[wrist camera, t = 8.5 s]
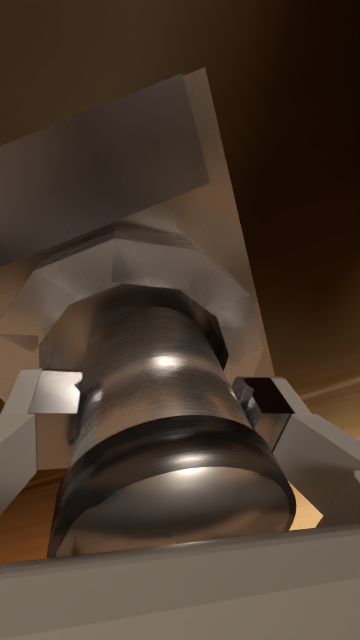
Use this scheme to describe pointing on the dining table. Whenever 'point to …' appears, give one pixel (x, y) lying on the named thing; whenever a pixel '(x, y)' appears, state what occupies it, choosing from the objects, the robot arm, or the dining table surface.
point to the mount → (124, 231)
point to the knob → (162, 446)
